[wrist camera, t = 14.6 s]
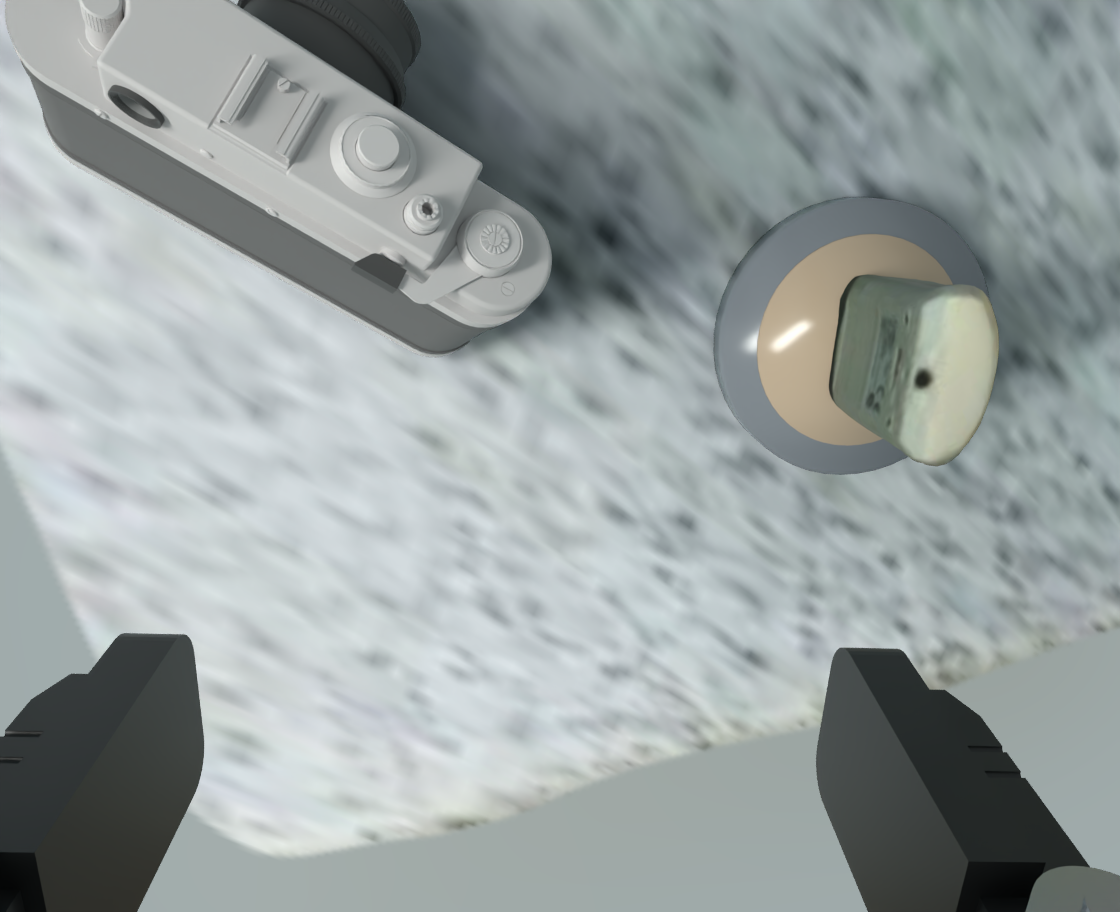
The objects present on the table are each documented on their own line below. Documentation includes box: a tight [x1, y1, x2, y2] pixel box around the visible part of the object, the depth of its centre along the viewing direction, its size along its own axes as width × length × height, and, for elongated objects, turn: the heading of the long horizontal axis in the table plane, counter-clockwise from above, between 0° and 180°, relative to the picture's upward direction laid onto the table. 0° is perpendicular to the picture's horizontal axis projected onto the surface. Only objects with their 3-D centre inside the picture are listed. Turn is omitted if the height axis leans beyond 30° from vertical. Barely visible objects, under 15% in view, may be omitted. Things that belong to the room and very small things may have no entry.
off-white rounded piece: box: [829, 274, 999, 466], centre depth 33 cm, size 6×5×8 cm
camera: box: [5, 0, 552, 357], centre depth 29 cm, size 9×16×10 cm, turn 59°
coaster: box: [713, 197, 989, 475], centre depth 37 cm, size 11×11×2 cm
